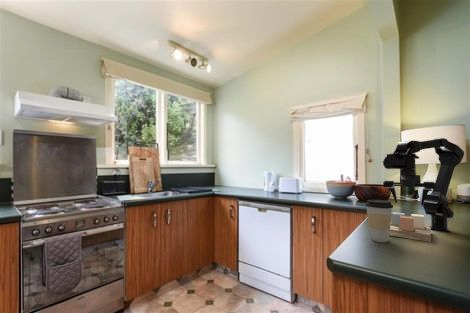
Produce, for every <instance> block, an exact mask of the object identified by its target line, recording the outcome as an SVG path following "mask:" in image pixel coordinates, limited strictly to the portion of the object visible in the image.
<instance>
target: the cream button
mask: <svg viewBox="0 0 470 313" xmlns="http://www.w3.org/2000/svg"><path fill="white" fill-rule="evenodd" d="M410 217H414V228H421V229H425V227H426V225H425V224H426V223H425V214H416V213H415V214H414V213H411V214H410Z"/></svg>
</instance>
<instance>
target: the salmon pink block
mask: <svg viewBox="0 0 470 313" xmlns="http://www.w3.org/2000/svg"><path fill="white" fill-rule="evenodd" d="M400 230H406V231H414V217H411V216H408V215H407V216H406V215H405V216H400Z"/></svg>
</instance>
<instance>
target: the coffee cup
mask: <svg viewBox="0 0 470 313" xmlns="http://www.w3.org/2000/svg"><path fill="white" fill-rule="evenodd" d="M364 206H365V207H366V215H367V216H366V217H367V225H368V227H369V235H370V240H371V241H374V242H377V243H388V242H389V240H390V235H389V231H390V225H391V222H392V209H393V208H394V204H392V201H390V200H384V199H383V200H381V199H367V200H366V203H365V205H364Z"/></svg>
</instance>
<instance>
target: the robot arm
mask: <svg viewBox="0 0 470 313" xmlns="http://www.w3.org/2000/svg"><path fill="white" fill-rule="evenodd" d="M443 147H444V148H443ZM427 149H434V153H435V154H436V155H437V156H438V157H437V158H438V161H439V163H440V166H439V168H438V173H437V175H436V176H437V177H436V178H435V182H434V181H423V182H421V175H420V174H417V173H416V172H417V169H416V168H417V167H416V166H417V165H416V160H418V159H420V157H419V156H418V155H417V154H416V153H419V152H421V151H422V150H427ZM464 156H465V151H464V150H463V149H462V148H461V147H460V146H459V145H458V144H455V143H453V142H451V141H449V139H447V138H444V137H441V138H439V137H438V138H434V139H428V140H422V141H421V140H420V141H419V140H404V141H399V142H397V145H396V146H395V148H394V150H393V152H392V153H386V156H385V157H384V159H383V161H382V164H383V167H384V169H387V170H399V175H400V176H399V182H398V181H397V182H395V181H394V180H384V181H383V182H382V184H383V185H382V186H383V188H386V190H389V191H390V193H391V195H392V197H393V199H394V202H395V204H398V198H397V192H396V191H397V190H396V187H409V188H410V187H411V188H422V191H421V192H422V194H421V199H420V201H421V206H422V207H423V209H424V212H425V214H426V215H429V216H430V223H431V224H430V226H429V227H430V231H431V230H432V231H440V232H448V233H450V229H449V228H448V219H451V218H453V217H454V214H455V213H454V211H453V210H452V209H451V207H449V203H450V202H449V200H448V197H447V193H448V191H449V187H450V184H451V180H452V178H453V173H454V171H455V168H456V167H457V166H459V164H461V163H462V160H463V159H464ZM429 192H431V193H429ZM428 193H429V194H428Z"/></svg>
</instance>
